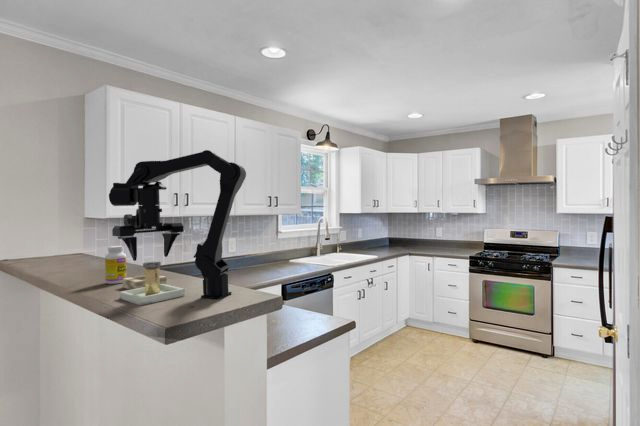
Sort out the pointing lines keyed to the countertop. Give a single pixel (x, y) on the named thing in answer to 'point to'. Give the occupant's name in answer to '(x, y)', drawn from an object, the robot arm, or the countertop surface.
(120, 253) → the supplement bottle
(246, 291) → the countertop surface
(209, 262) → the robot arm
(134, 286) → the wooden square frame
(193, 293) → the countertop surface
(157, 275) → the spice jar
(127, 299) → the tray
